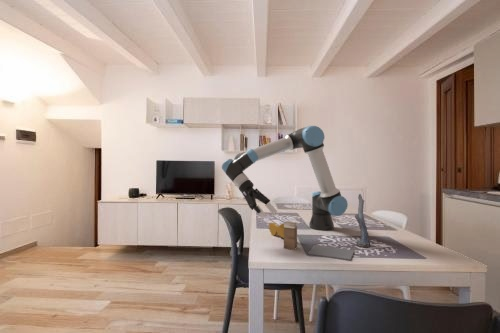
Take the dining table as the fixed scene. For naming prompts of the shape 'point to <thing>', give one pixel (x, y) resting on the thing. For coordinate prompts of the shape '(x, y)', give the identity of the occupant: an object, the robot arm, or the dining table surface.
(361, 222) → the antler
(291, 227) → the walnut block
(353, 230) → the dining table surface
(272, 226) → the decorative fish
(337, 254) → the charcoal rubber mat
